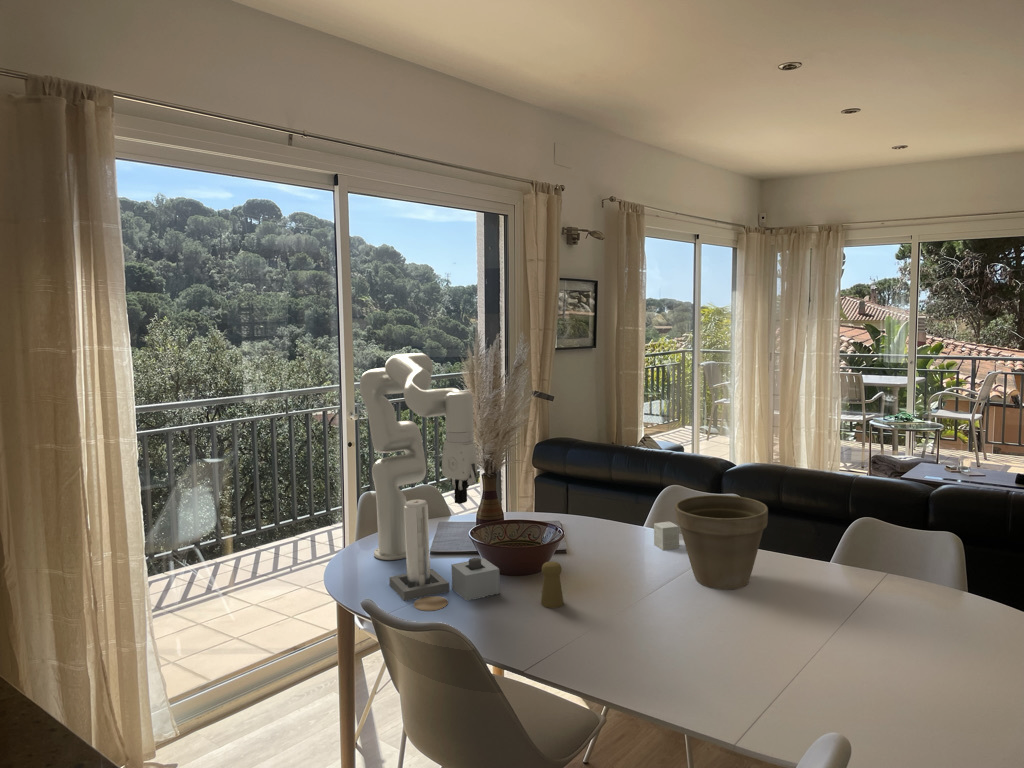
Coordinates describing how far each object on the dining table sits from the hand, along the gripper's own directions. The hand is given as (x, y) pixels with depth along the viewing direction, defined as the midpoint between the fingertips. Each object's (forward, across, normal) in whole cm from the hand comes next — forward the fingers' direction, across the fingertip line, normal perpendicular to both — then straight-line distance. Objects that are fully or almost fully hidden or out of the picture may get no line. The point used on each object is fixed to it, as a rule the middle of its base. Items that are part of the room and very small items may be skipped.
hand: (460, 502), depth 200 cm
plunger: (+20, +4, +2) cm, 20 cm away
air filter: (+25, -10, -7) cm, 28 cm away
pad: (+25, +1, -12) cm, 28 cm away
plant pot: (+24, +51, +52) cm, 77 cm away
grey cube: (+25, +24, +68) cm, 76 cm away
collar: (+25, -10, -7) cm, 28 cm away
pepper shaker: (+24, +26, +9) cm, 36 cm away
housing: (+25, +4, +2) cm, 25 cm away
